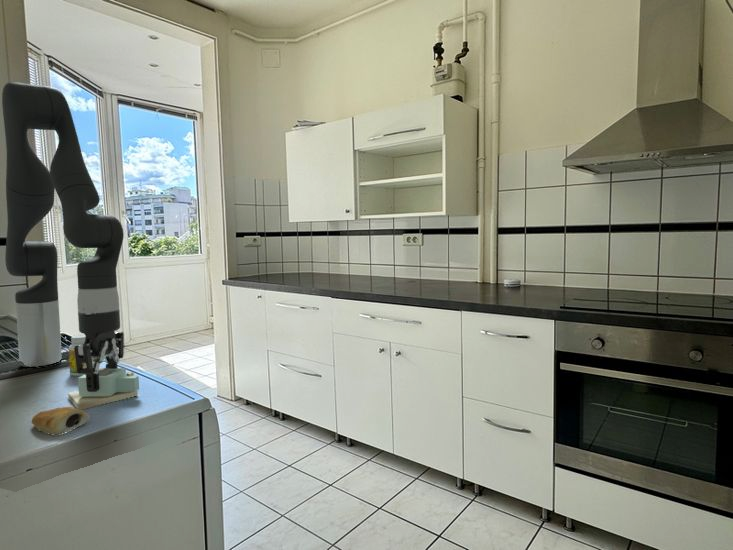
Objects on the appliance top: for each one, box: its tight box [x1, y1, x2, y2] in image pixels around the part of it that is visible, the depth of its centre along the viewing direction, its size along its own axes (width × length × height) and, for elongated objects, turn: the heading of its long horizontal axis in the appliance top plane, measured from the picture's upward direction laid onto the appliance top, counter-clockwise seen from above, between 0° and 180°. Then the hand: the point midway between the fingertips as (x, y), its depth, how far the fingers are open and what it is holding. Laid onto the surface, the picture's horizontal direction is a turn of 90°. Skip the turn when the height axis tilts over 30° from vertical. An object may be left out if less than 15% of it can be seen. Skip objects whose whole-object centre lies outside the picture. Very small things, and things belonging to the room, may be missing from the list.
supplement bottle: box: [68, 334, 94, 377], centre depth 110 cm, size 5×5×10 cm
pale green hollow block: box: [77, 367, 140, 397], centre depth 93 cm, size 10×6×4 cm, turn 91°
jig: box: [67, 367, 139, 410], centre depth 94 cm, size 9×11×6 cm
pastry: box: [31, 406, 89, 436], centre depth 80 cm, size 9×7×4 cm
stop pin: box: [126, 372, 135, 376], centre depth 95 cm, size 1×1×4 cm
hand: (103, 385), depth 93 cm, fingers closed on pale green hollow block, 6 cm apart
